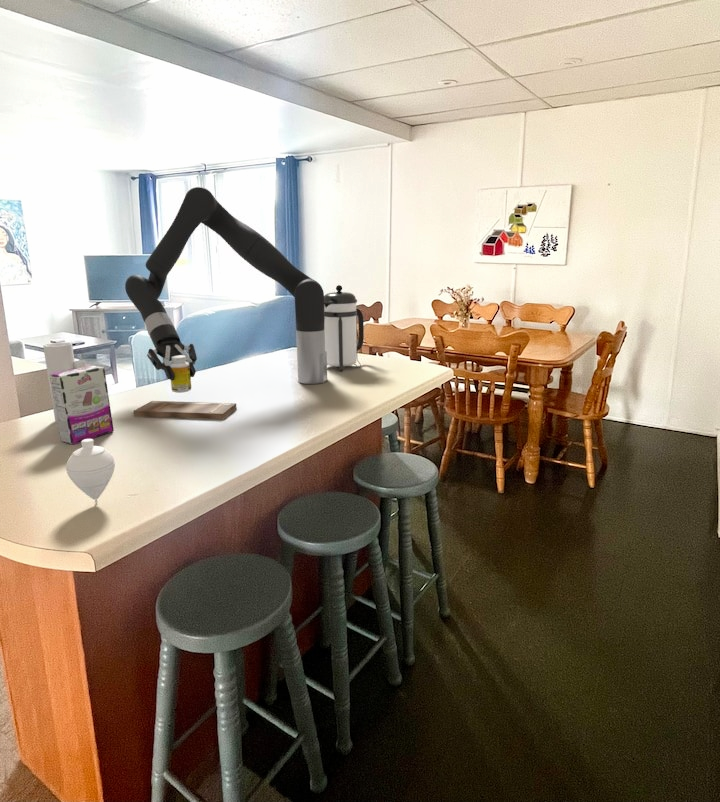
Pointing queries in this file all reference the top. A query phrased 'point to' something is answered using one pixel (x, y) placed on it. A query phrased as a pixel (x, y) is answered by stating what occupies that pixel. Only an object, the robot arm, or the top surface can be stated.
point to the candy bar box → (81, 403)
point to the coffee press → (342, 328)
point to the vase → (60, 362)
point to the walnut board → (185, 410)
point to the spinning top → (90, 468)
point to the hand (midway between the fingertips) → (183, 376)
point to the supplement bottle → (180, 374)
